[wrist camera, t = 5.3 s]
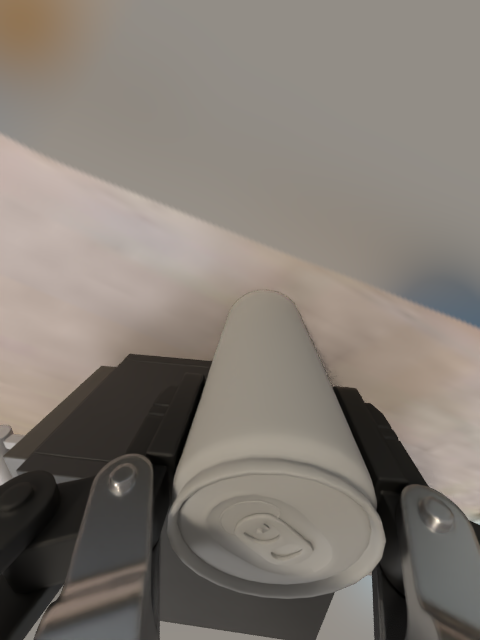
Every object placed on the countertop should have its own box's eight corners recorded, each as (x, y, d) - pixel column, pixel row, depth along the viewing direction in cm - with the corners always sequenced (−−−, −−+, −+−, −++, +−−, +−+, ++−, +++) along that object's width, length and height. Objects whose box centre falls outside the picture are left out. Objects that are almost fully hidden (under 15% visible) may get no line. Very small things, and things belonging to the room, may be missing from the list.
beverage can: (268, 271, 15) (292, 421, 4) (315, 326, 16) (440, 565, 5) (212, 319, 16) (115, 526, 5) (259, 366, 18) (259, 618, 6)
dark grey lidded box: (144, 463, 22) (75, 608, 14) (129, 353, 18) (14, 470, 10) (294, 480, 22) (314, 644, 13) (316, 370, 17) (367, 513, 9)
